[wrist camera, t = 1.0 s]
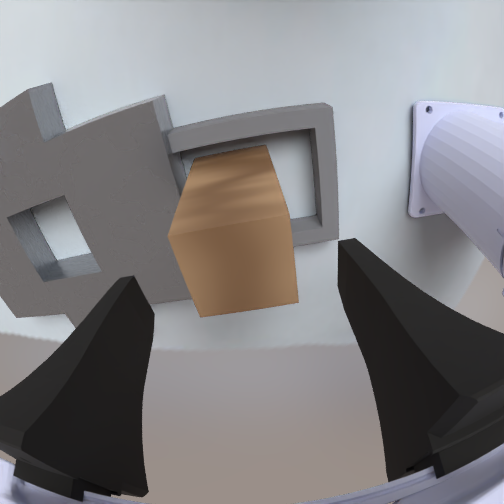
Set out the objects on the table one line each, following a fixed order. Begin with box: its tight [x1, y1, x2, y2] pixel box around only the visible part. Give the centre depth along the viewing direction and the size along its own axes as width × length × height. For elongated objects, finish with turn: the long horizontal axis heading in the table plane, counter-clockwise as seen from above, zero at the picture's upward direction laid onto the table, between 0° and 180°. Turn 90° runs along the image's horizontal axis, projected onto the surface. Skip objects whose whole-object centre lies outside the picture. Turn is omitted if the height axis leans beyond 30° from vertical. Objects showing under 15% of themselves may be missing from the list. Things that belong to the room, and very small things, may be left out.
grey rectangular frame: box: [168, 103, 339, 247], centre depth 17 cm, size 11×8×2 cm
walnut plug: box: [168, 145, 299, 317], centre depth 14 cm, size 4×4×8 cm
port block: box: [0, 83, 192, 328], centre depth 17 cm, size 18×18×2 cm
